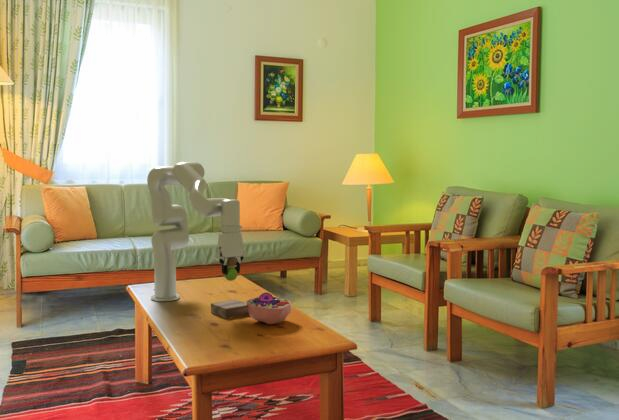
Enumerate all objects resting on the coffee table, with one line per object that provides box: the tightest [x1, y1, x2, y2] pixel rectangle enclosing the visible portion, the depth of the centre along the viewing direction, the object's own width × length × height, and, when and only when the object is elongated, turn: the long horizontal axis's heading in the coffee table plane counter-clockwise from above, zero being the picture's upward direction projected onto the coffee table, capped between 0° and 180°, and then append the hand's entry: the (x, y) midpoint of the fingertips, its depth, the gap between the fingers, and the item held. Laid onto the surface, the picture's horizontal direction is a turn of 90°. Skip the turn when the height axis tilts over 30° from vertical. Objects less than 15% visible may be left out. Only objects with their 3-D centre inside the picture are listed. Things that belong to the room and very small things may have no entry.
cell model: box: [245, 292, 292, 325], centre depth 246 cm, size 17×20×11 cm
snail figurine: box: [223, 257, 238, 282], centre depth 258 cm, size 5×6×12 cm
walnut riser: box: [210, 299, 250, 320], centre depth 260 cm, size 12×12×4 cm
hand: (230, 273), depth 259 cm, fingers closed on snail figurine, 5 cm apart
